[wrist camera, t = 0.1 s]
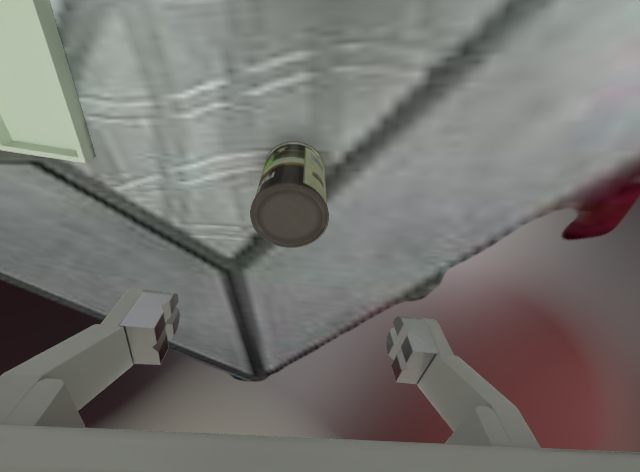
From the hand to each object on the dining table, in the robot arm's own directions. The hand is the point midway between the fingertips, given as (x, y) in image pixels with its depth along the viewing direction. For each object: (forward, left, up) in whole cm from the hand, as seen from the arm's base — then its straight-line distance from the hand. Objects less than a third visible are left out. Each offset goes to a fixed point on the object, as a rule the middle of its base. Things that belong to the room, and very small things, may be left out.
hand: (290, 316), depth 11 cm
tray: (+6, -38, -39) cm, 55 cm away
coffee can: (+13, 0, -39) cm, 41 cm away
